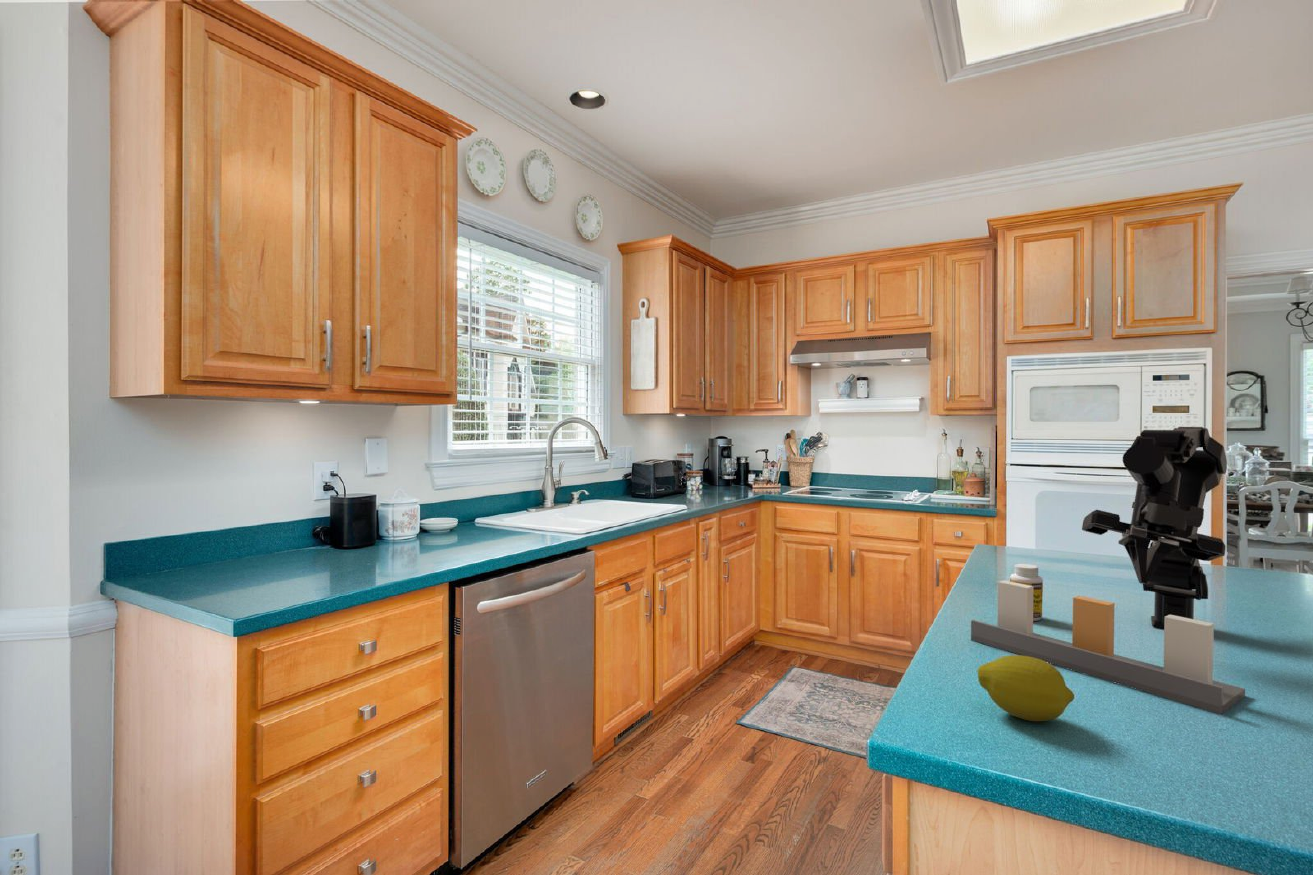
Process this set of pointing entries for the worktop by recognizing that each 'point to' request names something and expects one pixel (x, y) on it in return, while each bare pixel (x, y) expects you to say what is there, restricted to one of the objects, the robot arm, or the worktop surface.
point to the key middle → (1093, 625)
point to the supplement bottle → (1030, 577)
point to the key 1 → (1015, 607)
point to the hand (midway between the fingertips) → (1142, 583)
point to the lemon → (1026, 687)
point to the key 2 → (1188, 648)
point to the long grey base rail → (1111, 668)
